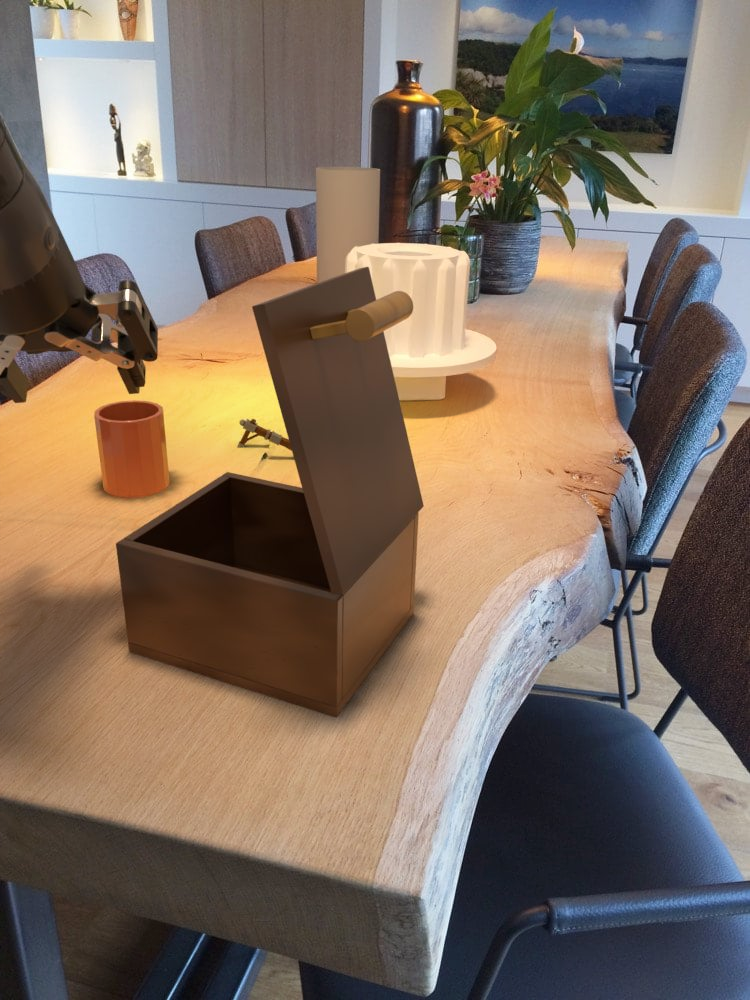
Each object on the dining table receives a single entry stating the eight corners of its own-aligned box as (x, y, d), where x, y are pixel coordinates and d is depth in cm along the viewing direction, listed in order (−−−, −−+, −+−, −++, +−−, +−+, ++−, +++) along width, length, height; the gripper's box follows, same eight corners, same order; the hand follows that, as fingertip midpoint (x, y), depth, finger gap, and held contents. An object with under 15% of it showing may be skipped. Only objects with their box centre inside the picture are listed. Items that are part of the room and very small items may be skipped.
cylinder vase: (304, 296, 172) (303, 167, 162) (349, 289, 180) (351, 166, 169) (343, 307, 164) (344, 171, 153) (389, 299, 172) (393, 170, 161)
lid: (251, 306, 44) (331, 289, 42) (358, 268, 56) (426, 253, 53) (331, 595, 50) (407, 594, 47) (414, 507, 61) (478, 502, 59)
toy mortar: (228, 446, 93) (243, 411, 91) (294, 473, 95) (310, 439, 93) (226, 452, 91) (241, 417, 89) (293, 480, 93) (309, 445, 91)
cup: (94, 507, 80) (82, 419, 76) (120, 481, 86) (110, 398, 82) (157, 512, 80) (148, 424, 76) (179, 485, 85) (172, 402, 81)
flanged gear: (323, 422, 103) (322, 267, 95) (306, 366, 126) (305, 236, 118) (515, 416, 107) (530, 267, 99) (466, 363, 130) (475, 237, 121)
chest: (128, 651, 59) (115, 543, 56) (232, 566, 71) (227, 471, 67) (336, 717, 53) (337, 601, 50) (413, 613, 65) (418, 512, 61)
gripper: (117, 183, 51) (172, 341, 65) (-122, 198, 50) (-12, 355, 65) (112, 280, 47) (172, 423, 62) (-143, 298, 47) (-22, 438, 61)
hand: (78, 388), depth 63 cm, fingers open, 8 cm apart
